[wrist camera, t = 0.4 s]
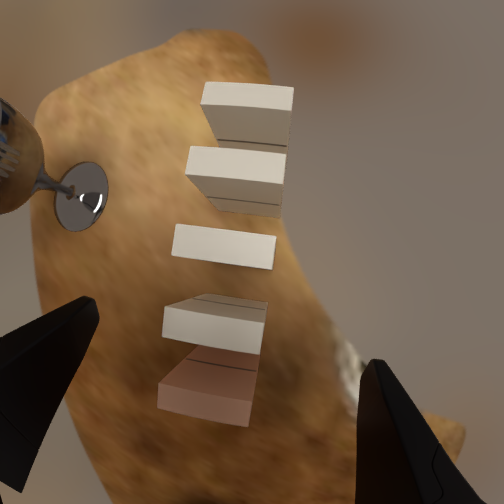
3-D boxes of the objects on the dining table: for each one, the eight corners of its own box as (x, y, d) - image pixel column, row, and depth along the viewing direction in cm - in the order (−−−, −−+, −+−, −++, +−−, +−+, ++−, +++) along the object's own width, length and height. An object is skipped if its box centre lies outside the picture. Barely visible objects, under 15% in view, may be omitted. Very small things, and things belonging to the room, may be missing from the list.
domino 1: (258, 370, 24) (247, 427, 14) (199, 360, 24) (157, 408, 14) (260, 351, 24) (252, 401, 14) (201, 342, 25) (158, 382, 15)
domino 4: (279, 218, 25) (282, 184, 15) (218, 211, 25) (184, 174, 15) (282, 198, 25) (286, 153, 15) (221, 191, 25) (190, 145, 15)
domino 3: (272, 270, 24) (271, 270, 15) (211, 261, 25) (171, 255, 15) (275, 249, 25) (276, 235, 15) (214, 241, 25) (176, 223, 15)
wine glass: (121, 160, 26) (16, 83, 11) (100, 242, 26) (-29, 218, 11) (63, 156, 27) (-37, 100, 12) (44, 228, 26) (-70, 205, 11)
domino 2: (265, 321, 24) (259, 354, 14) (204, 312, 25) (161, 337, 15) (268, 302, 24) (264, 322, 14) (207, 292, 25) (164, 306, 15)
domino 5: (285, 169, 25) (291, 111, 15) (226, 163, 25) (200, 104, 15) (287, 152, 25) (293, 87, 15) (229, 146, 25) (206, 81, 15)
